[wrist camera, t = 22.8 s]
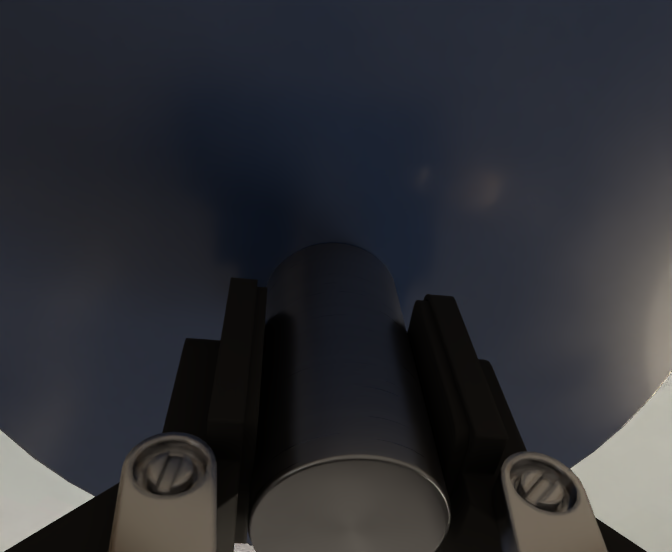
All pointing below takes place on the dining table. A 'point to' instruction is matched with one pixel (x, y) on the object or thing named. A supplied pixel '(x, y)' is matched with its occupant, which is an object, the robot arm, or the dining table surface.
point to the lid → (332, 231)
